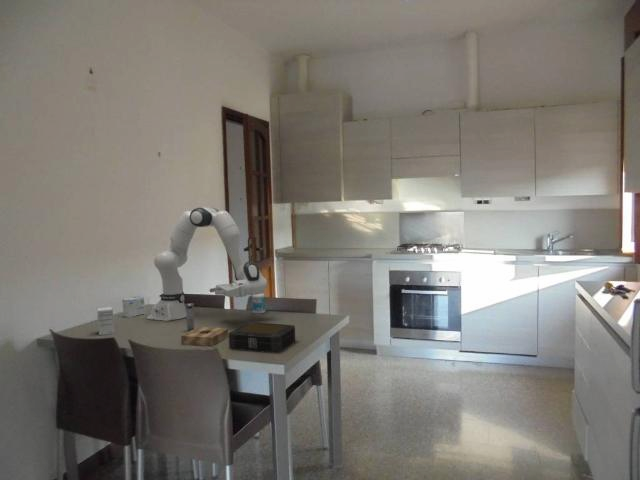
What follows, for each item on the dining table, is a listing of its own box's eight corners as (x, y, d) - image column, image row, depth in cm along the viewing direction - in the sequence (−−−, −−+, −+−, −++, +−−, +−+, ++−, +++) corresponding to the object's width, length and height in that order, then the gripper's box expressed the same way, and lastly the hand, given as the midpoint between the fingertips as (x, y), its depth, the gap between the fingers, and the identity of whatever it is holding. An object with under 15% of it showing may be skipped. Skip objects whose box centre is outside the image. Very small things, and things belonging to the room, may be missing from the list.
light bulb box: (138, 313, 296) (137, 295, 295) (145, 314, 292) (144, 296, 291) (122, 316, 287) (121, 298, 286) (129, 318, 283) (128, 299, 282)
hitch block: (181, 344, 227) (180, 335, 227) (199, 335, 242) (198, 327, 242) (212, 346, 223) (212, 337, 222) (228, 336, 238) (228, 328, 238)
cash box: (227, 349, 217) (226, 332, 217) (249, 337, 236) (248, 321, 236) (278, 354, 209) (277, 336, 208) (296, 341, 228) (296, 324, 227)
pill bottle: (260, 310, 292) (259, 288, 291) (268, 312, 287) (267, 289, 286) (250, 312, 287) (249, 290, 286) (257, 314, 282) (256, 291, 281)
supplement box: (98, 332, 254) (97, 308, 253) (114, 330, 257) (112, 306, 256) (98, 335, 248) (96, 310, 247) (114, 333, 250) (112, 309, 249)
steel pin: (184, 332, 249) (183, 304, 248) (189, 329, 253) (187, 303, 252) (192, 332, 247) (191, 305, 246) (197, 330, 252) (195, 303, 251)
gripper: (231, 280, 270) (206, 283, 263) (244, 285, 252) (218, 288, 245) (231, 291, 271) (207, 294, 264) (244, 297, 253) (218, 300, 246)
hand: (212, 291), depth 254 cm, fingers open, 8 cm apart
